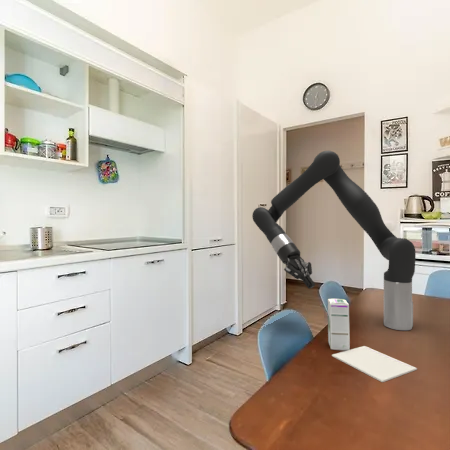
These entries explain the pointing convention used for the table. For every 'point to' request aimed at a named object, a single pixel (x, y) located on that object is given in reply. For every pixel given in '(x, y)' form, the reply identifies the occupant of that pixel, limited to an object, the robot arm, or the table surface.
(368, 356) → the off-white mat
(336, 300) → the syrup box
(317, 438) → the table surface
